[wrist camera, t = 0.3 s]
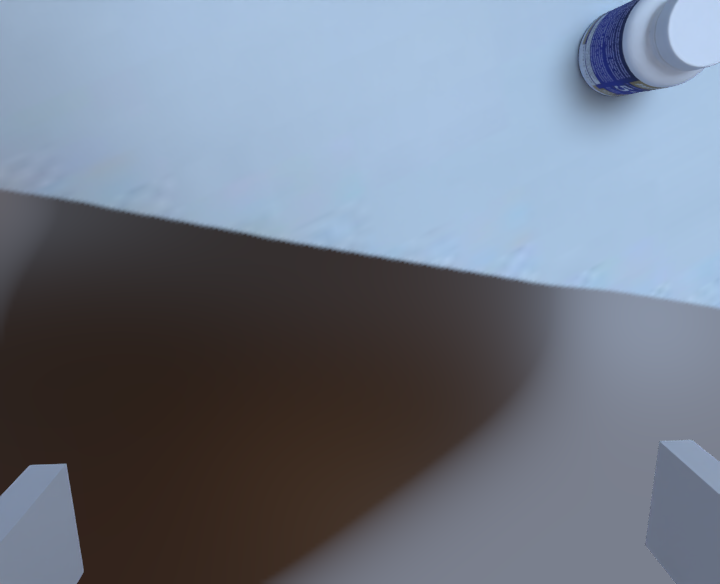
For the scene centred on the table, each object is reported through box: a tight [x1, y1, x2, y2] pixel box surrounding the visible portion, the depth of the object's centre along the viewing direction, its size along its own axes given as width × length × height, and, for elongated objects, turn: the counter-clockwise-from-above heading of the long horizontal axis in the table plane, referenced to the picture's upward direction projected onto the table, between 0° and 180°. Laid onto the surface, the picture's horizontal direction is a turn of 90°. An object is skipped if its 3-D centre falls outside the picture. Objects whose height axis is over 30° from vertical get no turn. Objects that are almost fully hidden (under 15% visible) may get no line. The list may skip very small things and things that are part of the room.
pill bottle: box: [579, 0, 720, 96], centre depth 32 cm, size 5×5×9 cm
